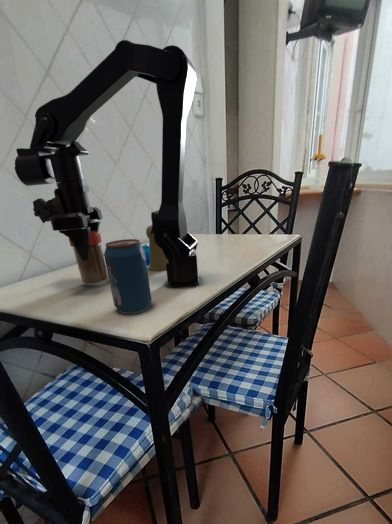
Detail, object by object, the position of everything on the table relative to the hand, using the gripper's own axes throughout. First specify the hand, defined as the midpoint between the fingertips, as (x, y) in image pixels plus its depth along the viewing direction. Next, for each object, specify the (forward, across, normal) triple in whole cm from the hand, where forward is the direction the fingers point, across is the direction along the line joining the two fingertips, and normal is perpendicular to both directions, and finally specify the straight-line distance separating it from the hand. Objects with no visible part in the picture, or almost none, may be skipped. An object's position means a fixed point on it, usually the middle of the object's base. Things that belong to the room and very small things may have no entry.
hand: (88, 257), depth 73 cm
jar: (+5, 0, 0) cm, 5 cm away
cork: (+6, -10, +16) cm, 20 cm away
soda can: (+7, +20, +12) cm, 24 cm away
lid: (-5, 0, 0) cm, 5 cm away
